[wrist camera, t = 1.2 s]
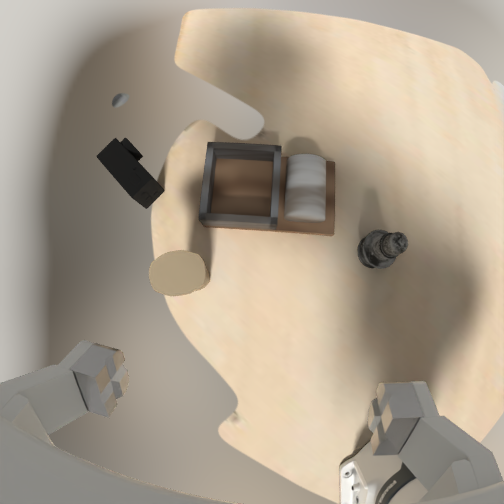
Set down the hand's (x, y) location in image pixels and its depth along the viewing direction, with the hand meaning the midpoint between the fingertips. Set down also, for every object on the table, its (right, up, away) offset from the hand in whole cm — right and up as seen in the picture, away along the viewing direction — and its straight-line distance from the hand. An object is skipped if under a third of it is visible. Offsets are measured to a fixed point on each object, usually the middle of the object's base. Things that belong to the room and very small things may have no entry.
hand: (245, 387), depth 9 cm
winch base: (+3, +13, +41) cm, 44 cm away
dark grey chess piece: (+20, +4, +40) cm, 45 cm away
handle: (-8, 0, +40) cm, 41 cm away
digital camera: (-19, +17, +42) cm, 49 cm away
